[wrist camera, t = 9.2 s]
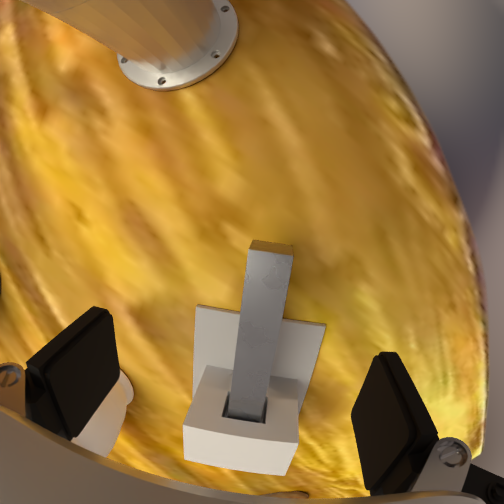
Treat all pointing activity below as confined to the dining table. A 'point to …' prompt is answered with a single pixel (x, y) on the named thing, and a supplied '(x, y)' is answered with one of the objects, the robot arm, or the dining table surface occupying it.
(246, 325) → the shaft
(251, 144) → the dining table surface
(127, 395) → the jar
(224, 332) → the bearing block
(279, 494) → the pastry
